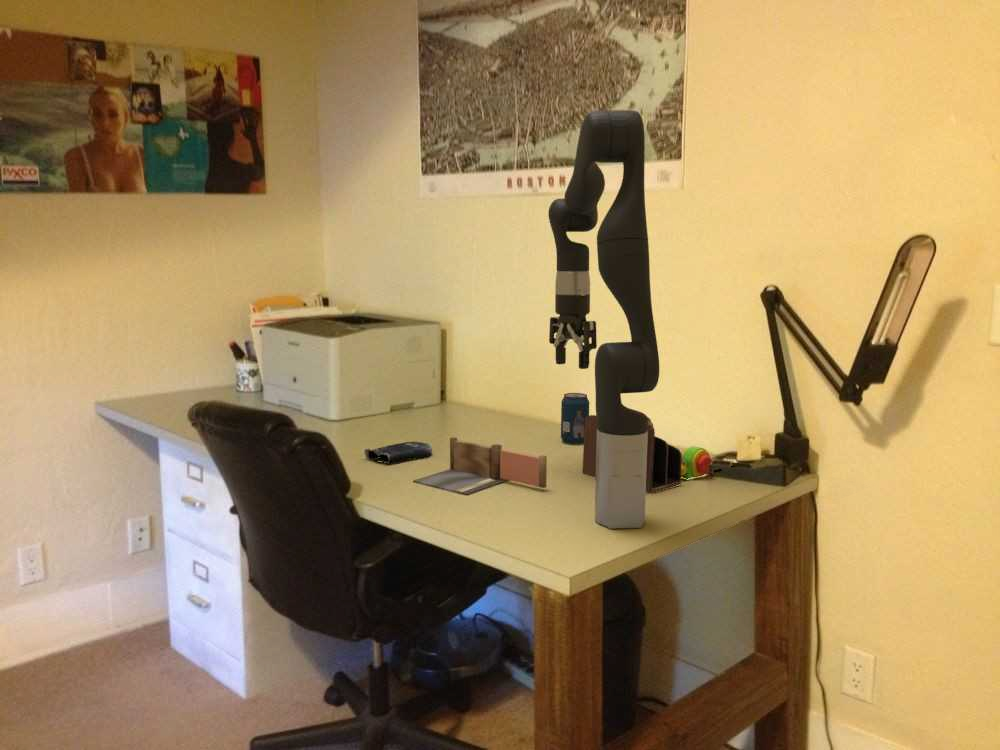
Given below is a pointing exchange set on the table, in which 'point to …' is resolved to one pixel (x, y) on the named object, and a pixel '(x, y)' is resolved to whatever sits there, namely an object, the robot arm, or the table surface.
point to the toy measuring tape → (695, 462)
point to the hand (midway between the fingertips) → (572, 366)
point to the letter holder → (660, 458)
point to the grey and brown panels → (468, 468)
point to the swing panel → (523, 468)
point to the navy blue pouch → (400, 452)
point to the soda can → (574, 417)
